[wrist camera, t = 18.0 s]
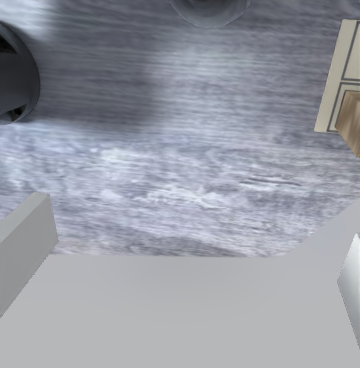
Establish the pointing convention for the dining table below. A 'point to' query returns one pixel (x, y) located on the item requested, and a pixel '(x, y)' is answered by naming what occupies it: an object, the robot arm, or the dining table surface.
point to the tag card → (340, 75)
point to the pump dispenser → (210, 11)
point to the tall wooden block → (350, 120)
